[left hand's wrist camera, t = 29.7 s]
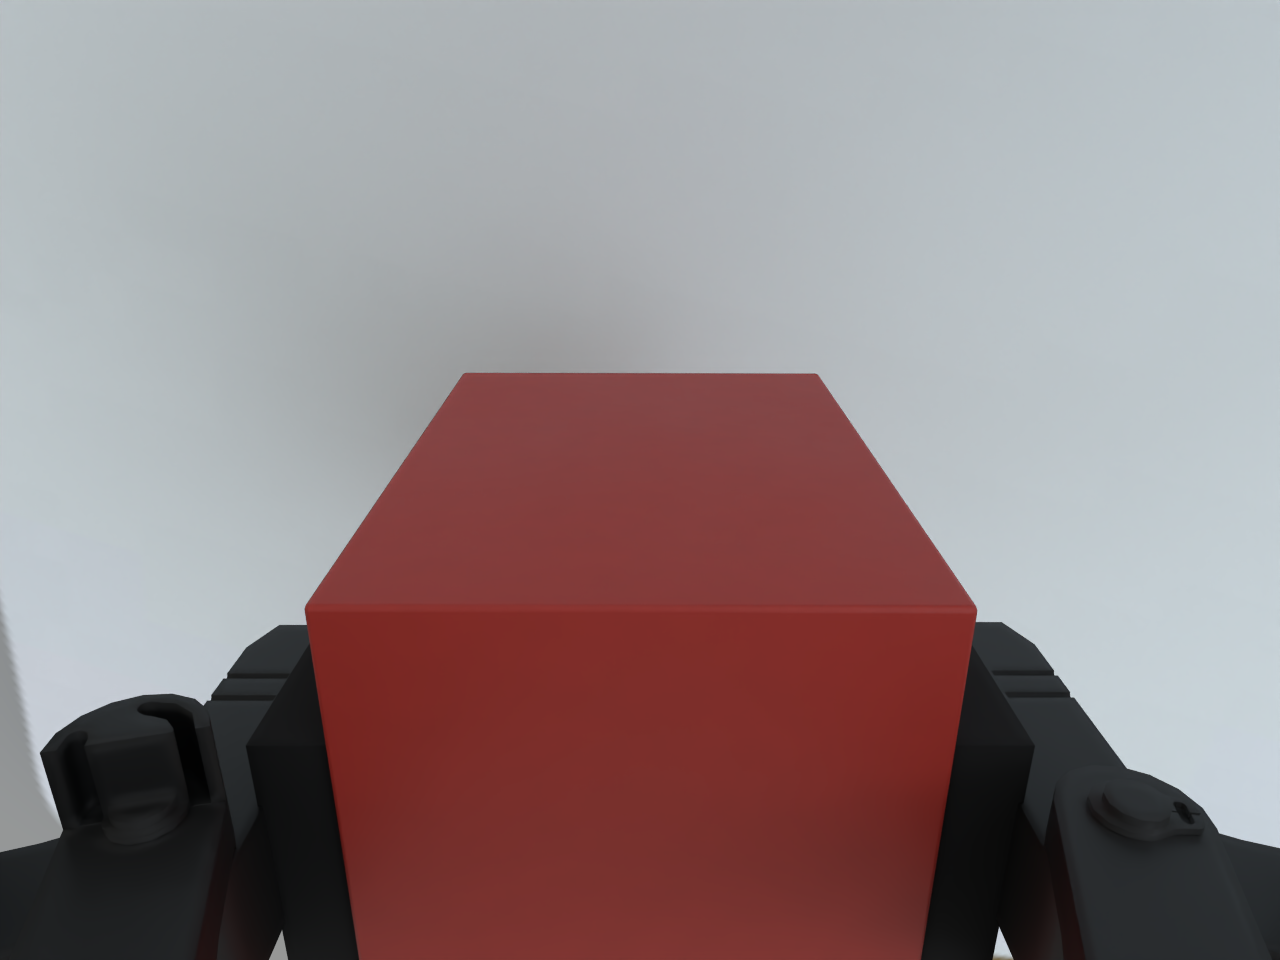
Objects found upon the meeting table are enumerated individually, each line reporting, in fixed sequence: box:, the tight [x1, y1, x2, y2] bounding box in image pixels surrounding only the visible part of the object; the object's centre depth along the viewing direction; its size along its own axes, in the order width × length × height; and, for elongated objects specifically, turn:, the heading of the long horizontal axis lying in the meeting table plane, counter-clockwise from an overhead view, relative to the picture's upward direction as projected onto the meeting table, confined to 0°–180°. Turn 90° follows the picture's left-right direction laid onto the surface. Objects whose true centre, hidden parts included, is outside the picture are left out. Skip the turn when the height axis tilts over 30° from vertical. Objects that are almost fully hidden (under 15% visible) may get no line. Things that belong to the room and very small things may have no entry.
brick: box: [305, 373, 977, 960], centre depth 12 cm, size 5×6×7 cm
